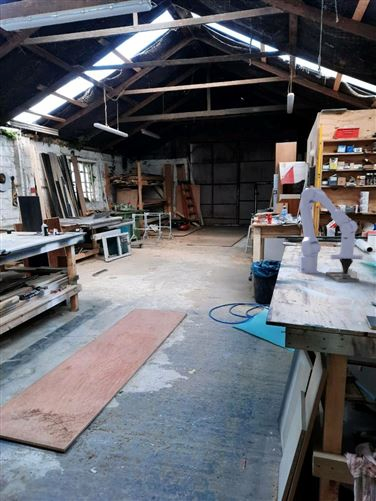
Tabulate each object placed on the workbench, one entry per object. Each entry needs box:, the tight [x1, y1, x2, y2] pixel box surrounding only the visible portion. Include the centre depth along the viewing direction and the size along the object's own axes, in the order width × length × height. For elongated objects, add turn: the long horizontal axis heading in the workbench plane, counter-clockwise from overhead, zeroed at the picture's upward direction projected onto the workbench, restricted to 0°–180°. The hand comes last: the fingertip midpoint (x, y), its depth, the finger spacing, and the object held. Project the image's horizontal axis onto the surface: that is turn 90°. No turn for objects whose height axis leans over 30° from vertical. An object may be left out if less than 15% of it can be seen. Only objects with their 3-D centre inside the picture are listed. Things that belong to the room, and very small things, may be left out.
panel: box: [325, 271, 360, 283], centre depth 158 cm, size 10×14×1 cm
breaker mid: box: [347, 267, 353, 275], centre depth 157 cm, size 2×2×3 cm
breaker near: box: [350, 270, 358, 278], centre depth 152 cm, size 2×2×3 cm
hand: (345, 273), depth 157 cm, fingers closed
